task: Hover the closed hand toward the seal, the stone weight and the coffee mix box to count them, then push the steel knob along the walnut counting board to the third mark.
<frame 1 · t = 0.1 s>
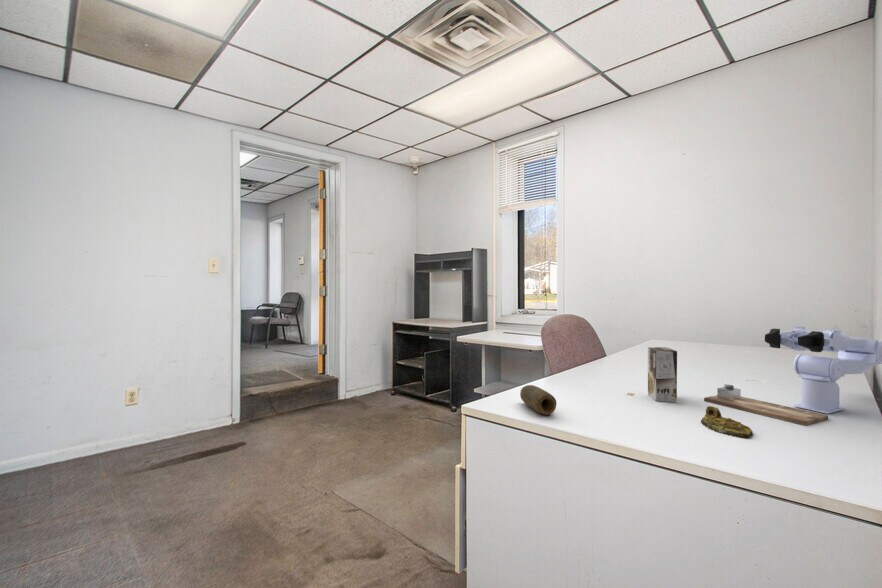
hand: (782, 339, 112), 22 cm above the table, tool horizontal, fingers open, 7 cm apart
seal: (725, 430, 105), on the table
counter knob: (728, 391, 129), point 3 cm above the table, slide at -9.0 cm
counting board: (761, 409, 120), on the table
coffee box: (661, 398, 133), on the table
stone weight: (537, 410, 122), on the table
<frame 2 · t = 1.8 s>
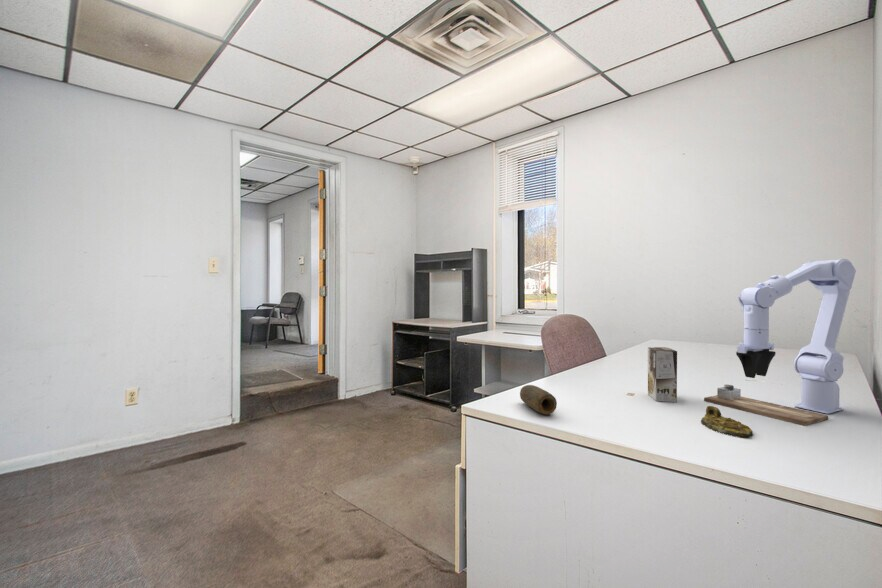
hand: (755, 376, 117), 10 cm above the table, tool pointing down, fingers open, 5 cm apart
nothing on the table moved.
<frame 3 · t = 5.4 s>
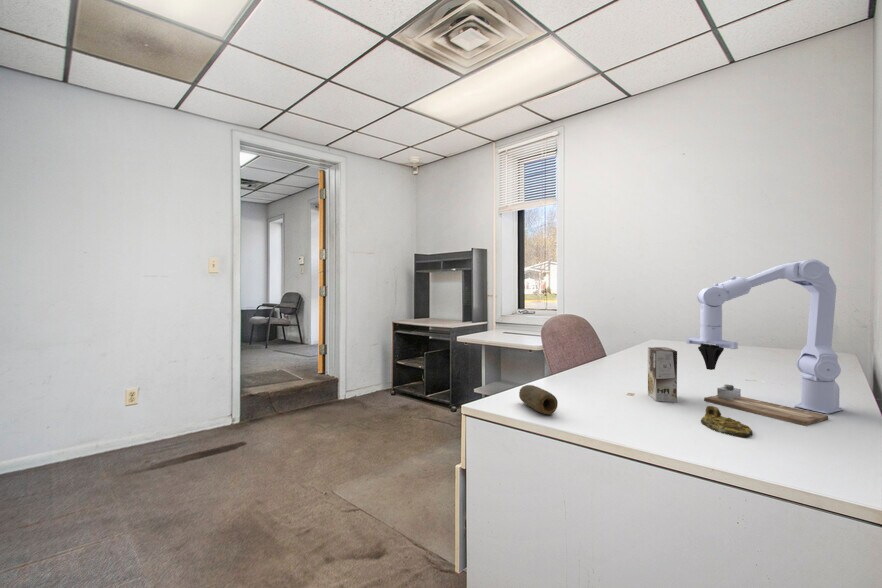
hand: (710, 369, 128), 10 cm above the table, tool pointing down, fingers closed
nothing on the table moved.
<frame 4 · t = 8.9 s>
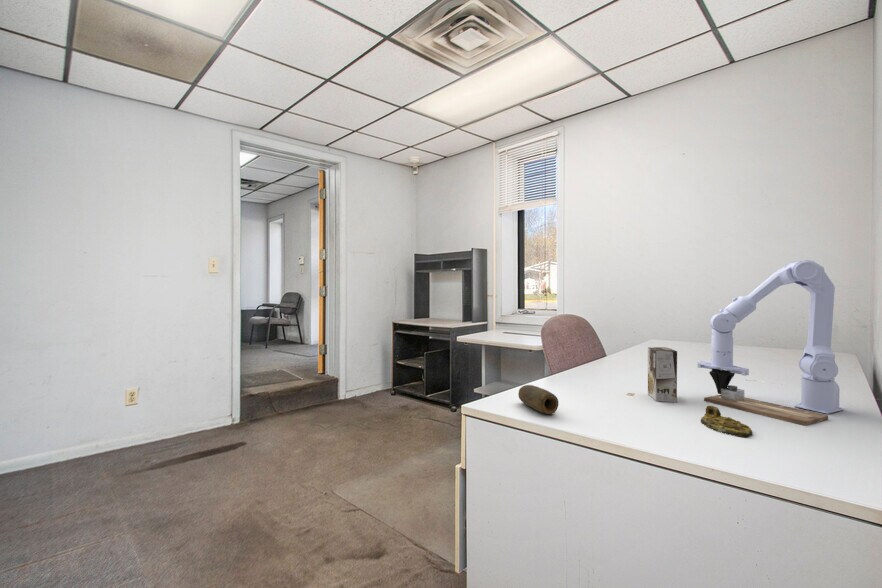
hand: (721, 393, 130), 2 cm above the table, tool pointing down, fingers closed
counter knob: (732, 392, 128), point 3 cm above the table, slide at -7.9 cm, touching gripper
everything else where it was.
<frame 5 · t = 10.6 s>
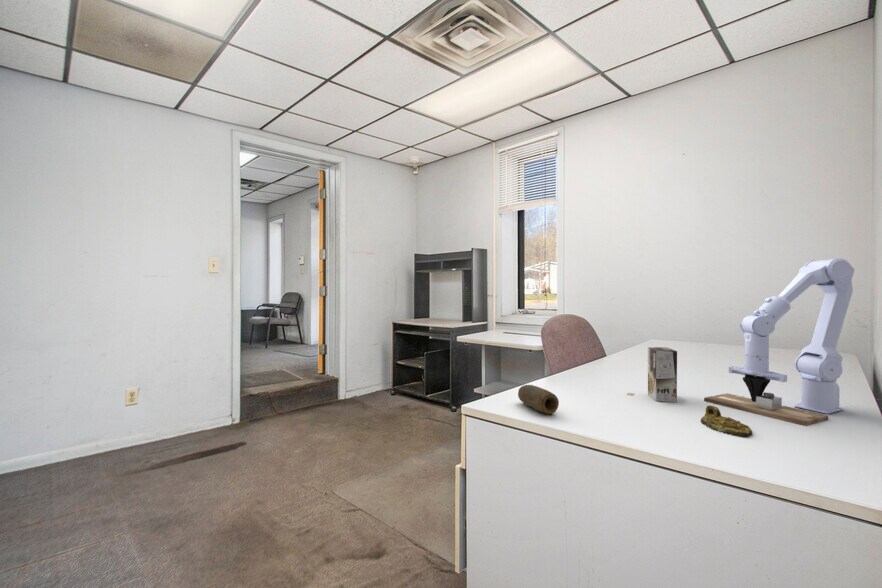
hand: (756, 401, 122), 2 cm above the table, tool pointing down, fingers closed
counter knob: (768, 400, 119), point 3 cm above the table, slide at 1.9 cm, touching gripper
everything else where it was.
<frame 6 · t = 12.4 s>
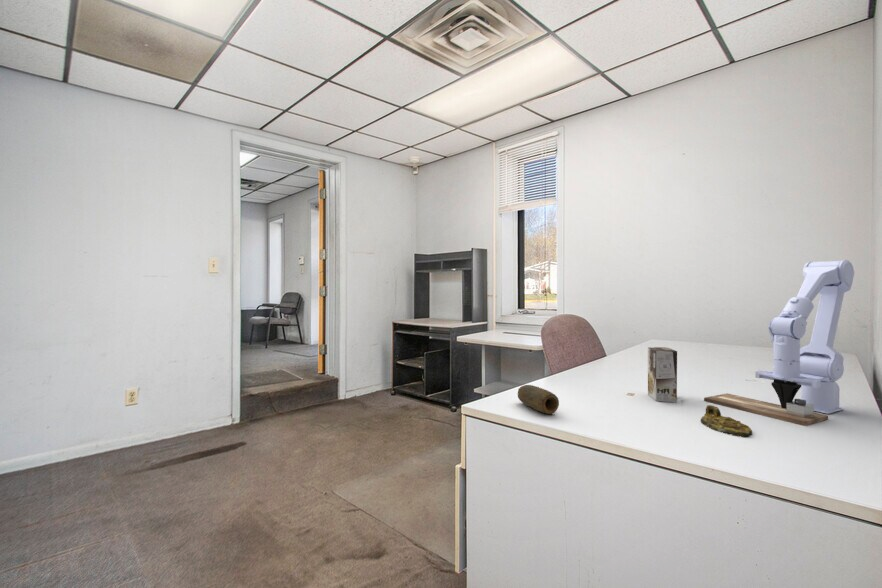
hand: (786, 408, 115), 2 cm above the table, tool pointing down, fingers closed
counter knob: (800, 407, 112), point 3 cm above the table, slide at 9.4 cm, touching gripper
everything else where it was.
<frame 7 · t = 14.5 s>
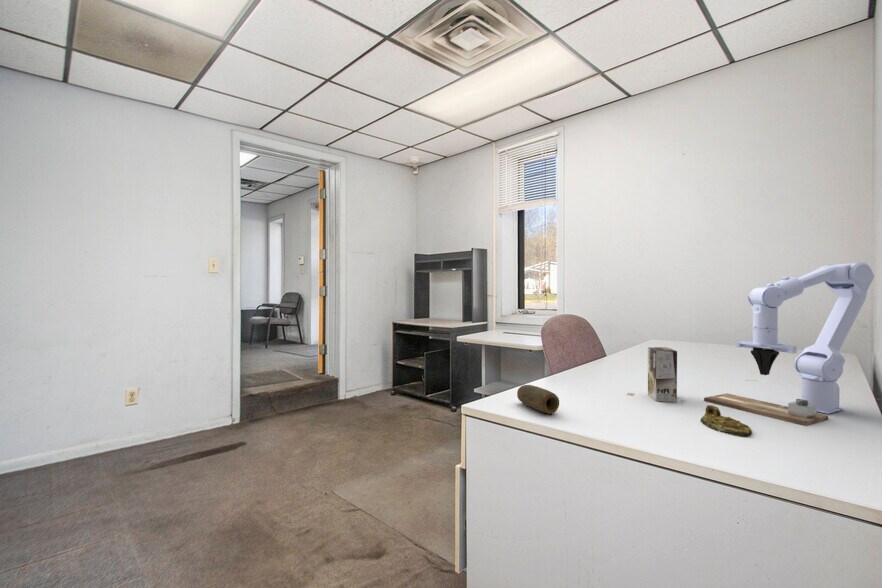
hand: (764, 374, 120), 10 cm above the table, tool pointing down, fingers closed
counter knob: (801, 407, 112), point 3 cm above the table, slide at 9.7 cm
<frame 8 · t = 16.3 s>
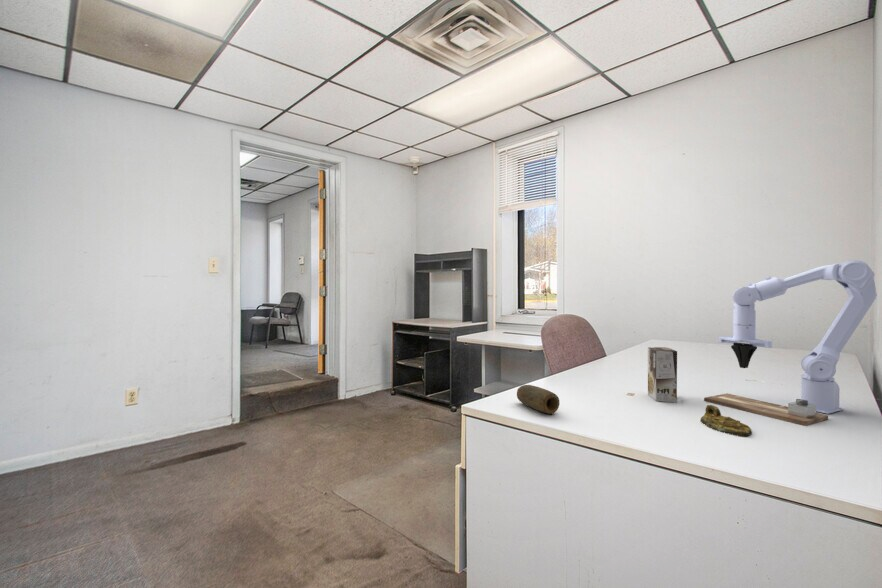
hand: (743, 367, 130), 10 cm above the table, tool pointing down, fingers closed
at the end: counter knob slide at 9.7 cm; coffee box moved 0.2 cm from its start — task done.
